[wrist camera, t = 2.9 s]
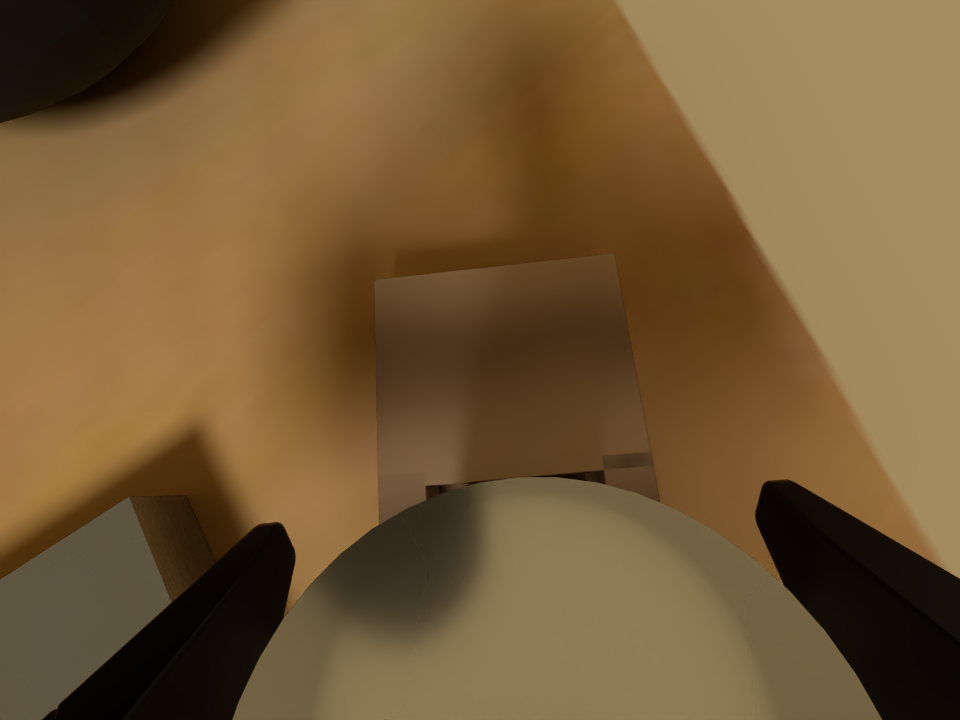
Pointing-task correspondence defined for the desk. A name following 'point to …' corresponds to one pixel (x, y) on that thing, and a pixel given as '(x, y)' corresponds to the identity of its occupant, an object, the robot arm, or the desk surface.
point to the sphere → (66, 46)
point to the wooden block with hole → (506, 380)
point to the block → (92, 598)
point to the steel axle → (549, 620)
